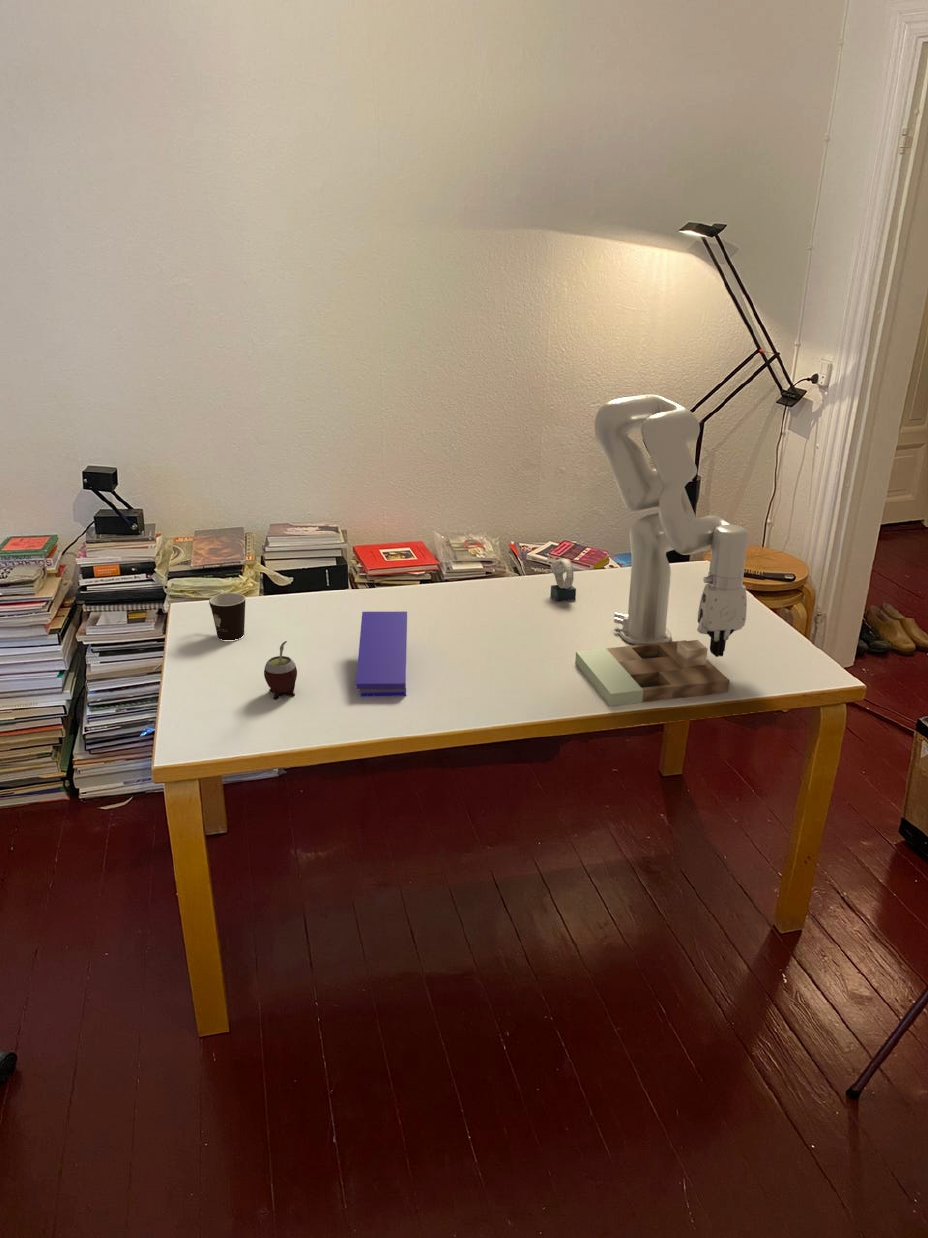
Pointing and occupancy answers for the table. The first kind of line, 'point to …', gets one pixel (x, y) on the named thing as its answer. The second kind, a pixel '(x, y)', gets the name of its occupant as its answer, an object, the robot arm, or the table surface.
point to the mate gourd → (281, 675)
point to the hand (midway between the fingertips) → (716, 654)
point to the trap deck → (668, 672)
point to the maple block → (691, 653)
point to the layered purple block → (382, 654)
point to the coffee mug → (228, 615)
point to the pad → (609, 677)
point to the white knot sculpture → (563, 588)
